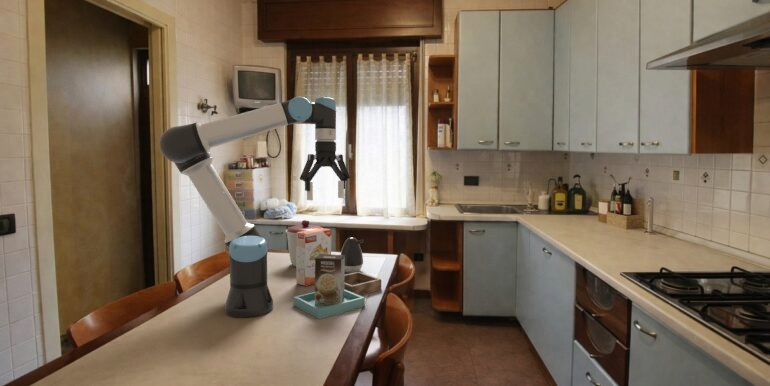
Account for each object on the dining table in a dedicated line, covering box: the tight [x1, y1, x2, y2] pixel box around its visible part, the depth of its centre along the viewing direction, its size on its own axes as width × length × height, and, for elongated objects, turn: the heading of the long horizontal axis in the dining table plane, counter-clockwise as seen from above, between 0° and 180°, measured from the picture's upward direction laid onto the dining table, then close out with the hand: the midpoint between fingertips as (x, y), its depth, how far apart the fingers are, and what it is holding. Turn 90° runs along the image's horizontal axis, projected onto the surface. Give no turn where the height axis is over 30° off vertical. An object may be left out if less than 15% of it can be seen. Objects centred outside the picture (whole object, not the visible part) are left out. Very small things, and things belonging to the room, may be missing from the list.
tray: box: [293, 289, 366, 320], centre depth 145 cm, size 18×16×3 cm
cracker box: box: [295, 227, 332, 287], centre depth 172 cm, size 14×6×21 cm, turn 141°
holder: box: [344, 271, 382, 296], centre depth 164 cm, size 14×14×4 cm
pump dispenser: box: [340, 236, 364, 274], centre depth 188 cm, size 10×10×15 cm
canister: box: [285, 219, 323, 267], centre depth 198 cm, size 18×18×21 cm
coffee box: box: [314, 253, 345, 306], centre depth 145 cm, size 9×6×16 cm
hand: (325, 199), depth 158 cm, fingers open, 13 cm apart
